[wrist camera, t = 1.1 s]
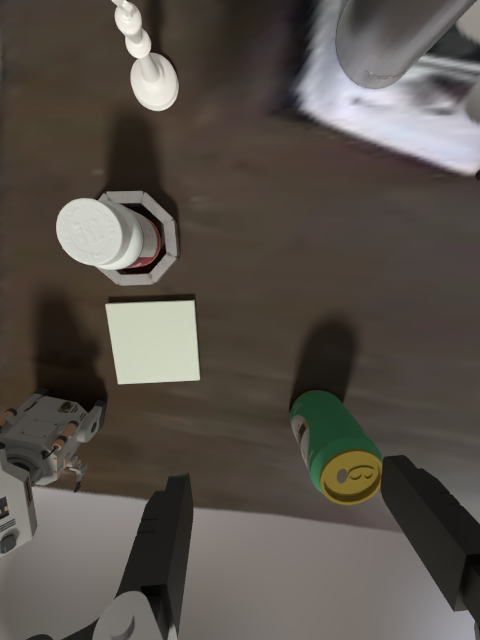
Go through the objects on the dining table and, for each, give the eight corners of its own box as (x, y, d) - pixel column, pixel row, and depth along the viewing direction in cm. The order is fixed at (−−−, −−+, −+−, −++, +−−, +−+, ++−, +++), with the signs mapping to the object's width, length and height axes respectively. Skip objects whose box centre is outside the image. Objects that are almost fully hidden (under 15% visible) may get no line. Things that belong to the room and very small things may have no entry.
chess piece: (163, 121, 29) (131, 52, 19) (123, 90, 28) (68, 0, 18) (187, 78, 28) (166, -17, 18) (146, 45, 27) (101, -75, 17)
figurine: (35, 446, 37) (-86, 567, 23) (43, 376, 35) (-88, 462, 20) (99, 458, 38) (22, 581, 24) (111, 390, 36) (33, 482, 21)
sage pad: (108, 303, 33) (105, 304, 32) (194, 299, 33) (193, 300, 33) (120, 381, 36) (118, 384, 35) (200, 377, 36) (199, 380, 35)
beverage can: (287, 389, 37) (315, 449, 26) (341, 385, 38) (393, 443, 26) (288, 436, 39) (313, 512, 28) (339, 432, 40) (386, 505, 28)
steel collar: (86, 196, 30) (76, 192, 28) (174, 194, 30) (171, 190, 28) (100, 284, 32) (92, 286, 30) (182, 281, 33) (179, 283, 31)
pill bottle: (112, 265, 32) (52, 270, 21) (108, 212, 30) (42, 187, 19) (162, 268, 32) (130, 274, 21) (161, 215, 31) (126, 193, 20)
